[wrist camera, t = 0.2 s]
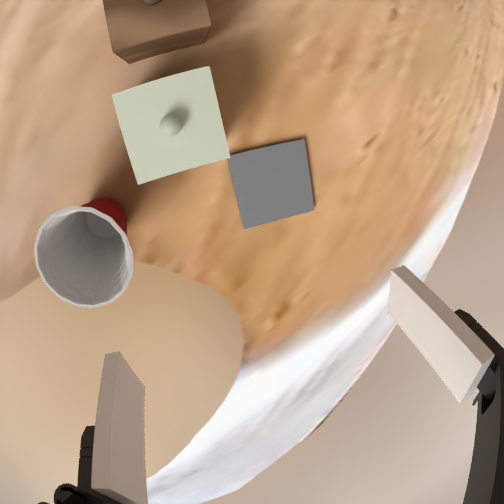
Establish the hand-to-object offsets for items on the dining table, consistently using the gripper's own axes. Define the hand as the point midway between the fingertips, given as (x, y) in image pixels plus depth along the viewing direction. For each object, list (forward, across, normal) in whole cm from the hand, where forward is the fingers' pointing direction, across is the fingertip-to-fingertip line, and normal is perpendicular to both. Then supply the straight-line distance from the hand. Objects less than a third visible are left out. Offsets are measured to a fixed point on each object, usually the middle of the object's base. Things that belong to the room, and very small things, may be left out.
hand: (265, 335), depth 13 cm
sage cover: (+27, -2, +8) cm, 29 cm away
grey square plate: (+27, +8, -3) cm, 29 cm away
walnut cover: (+28, -1, +21) cm, 35 cm away
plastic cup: (+28, -14, -1) cm, 31 cm away
